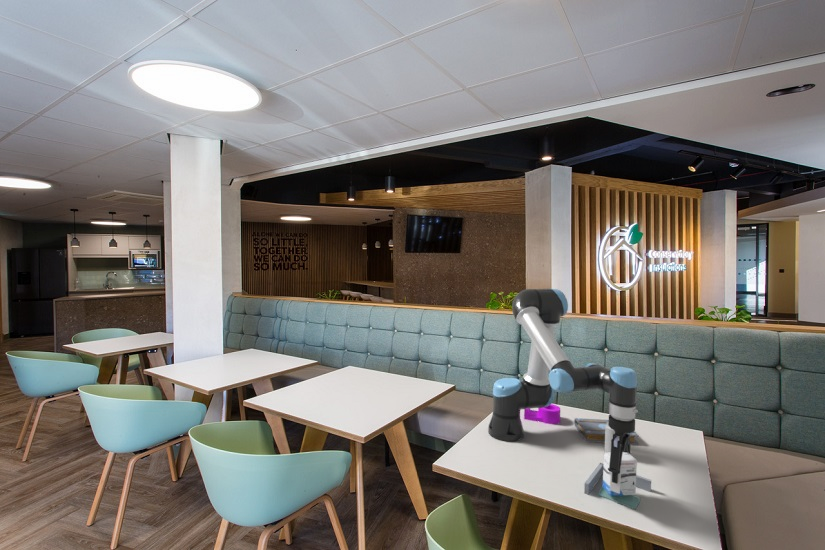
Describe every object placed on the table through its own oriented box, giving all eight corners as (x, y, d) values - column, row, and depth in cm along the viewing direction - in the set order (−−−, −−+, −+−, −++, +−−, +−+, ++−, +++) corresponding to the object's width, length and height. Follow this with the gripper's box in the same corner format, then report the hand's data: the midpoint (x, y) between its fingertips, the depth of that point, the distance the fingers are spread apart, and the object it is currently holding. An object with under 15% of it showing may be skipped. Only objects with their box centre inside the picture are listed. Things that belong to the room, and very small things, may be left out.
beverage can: (624, 458, 150) (626, 428, 150) (607, 456, 152) (608, 426, 151) (619, 450, 157) (620, 421, 156) (602, 449, 158) (603, 420, 157)
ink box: (610, 496, 123) (611, 460, 123) (601, 487, 128) (603, 452, 128) (636, 495, 124) (637, 459, 123) (626, 485, 129) (628, 451, 128)
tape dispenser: (560, 418, 189) (560, 405, 188) (559, 426, 180) (560, 412, 179) (526, 412, 195) (526, 400, 194) (523, 420, 186) (524, 407, 185)
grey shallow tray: (621, 428, 178) (622, 418, 178) (638, 446, 162) (639, 434, 162) (574, 426, 180) (574, 415, 180) (586, 442, 164) (586, 431, 164)
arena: (584, 493, 128) (584, 482, 128) (599, 472, 141) (600, 462, 140) (639, 514, 117) (640, 503, 117) (650, 490, 130) (651, 479, 130)
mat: (597, 494, 127) (597, 493, 127) (603, 485, 132) (603, 484, 132) (635, 509, 120) (635, 508, 120) (640, 499, 125) (640, 498, 125)
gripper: (626, 431, 114) (623, 505, 115) (642, 409, 131) (639, 475, 132) (599, 423, 119) (596, 495, 120) (618, 404, 136) (615, 467, 137)
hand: (619, 484), depth 126 cm, fingers closed on ink box, 9 cm apart
